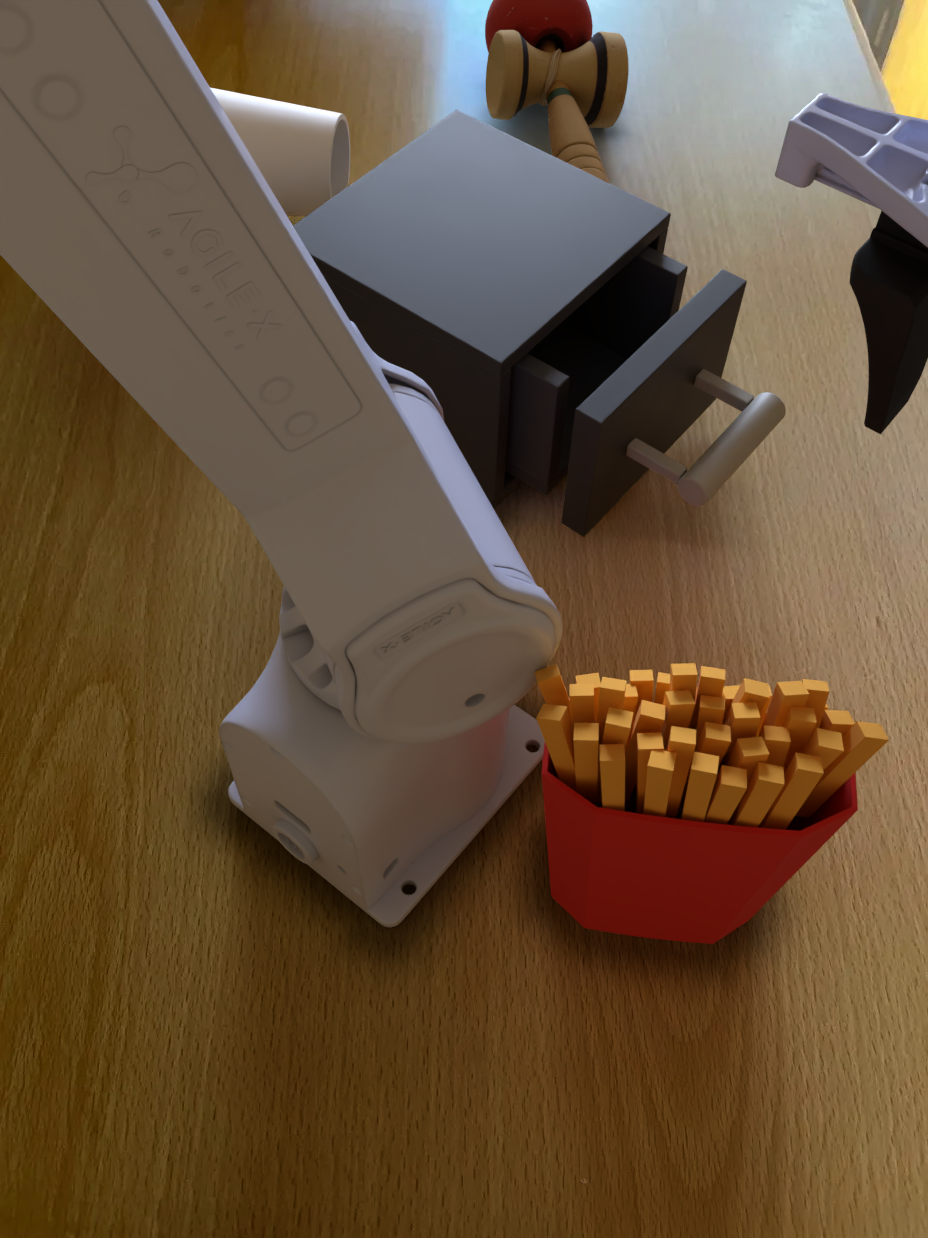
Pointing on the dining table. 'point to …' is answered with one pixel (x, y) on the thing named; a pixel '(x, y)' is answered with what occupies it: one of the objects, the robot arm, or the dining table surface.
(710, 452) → the drawer
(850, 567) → the dining table surface
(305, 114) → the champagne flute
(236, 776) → the robot arm
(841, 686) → the dining table surface
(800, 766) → the french fries
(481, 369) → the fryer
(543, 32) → the kendama
